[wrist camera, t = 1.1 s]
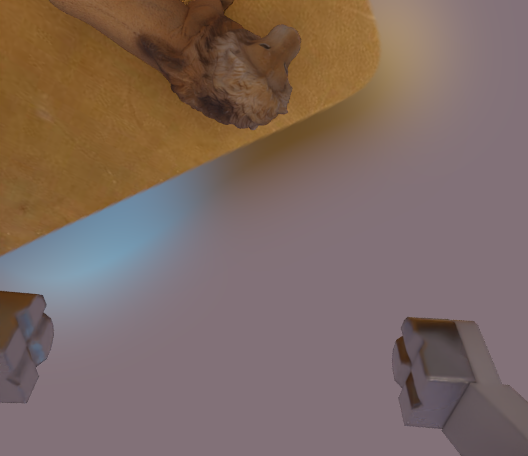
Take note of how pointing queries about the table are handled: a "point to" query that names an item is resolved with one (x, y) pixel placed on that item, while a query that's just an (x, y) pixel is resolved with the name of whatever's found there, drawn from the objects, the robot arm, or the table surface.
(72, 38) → the table surface
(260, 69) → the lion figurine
